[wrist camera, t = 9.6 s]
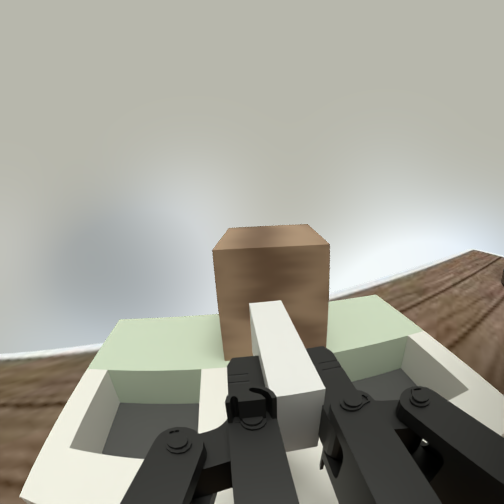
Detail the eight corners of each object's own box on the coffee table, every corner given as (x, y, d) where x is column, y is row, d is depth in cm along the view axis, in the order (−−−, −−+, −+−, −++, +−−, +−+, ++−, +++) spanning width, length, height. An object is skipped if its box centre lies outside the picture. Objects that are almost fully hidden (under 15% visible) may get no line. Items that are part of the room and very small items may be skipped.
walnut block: (308, 305, 31) (307, 224, 29) (325, 355, 21) (329, 244, 19) (235, 309, 31) (228, 227, 29) (224, 360, 22) (212, 250, 20)
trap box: (372, 323, 33) (375, 294, 32) (500, 452, 10) (525, 414, 9) (127, 349, 30) (119, 319, 29) (54, 526, 7) (19, 496, 6)
